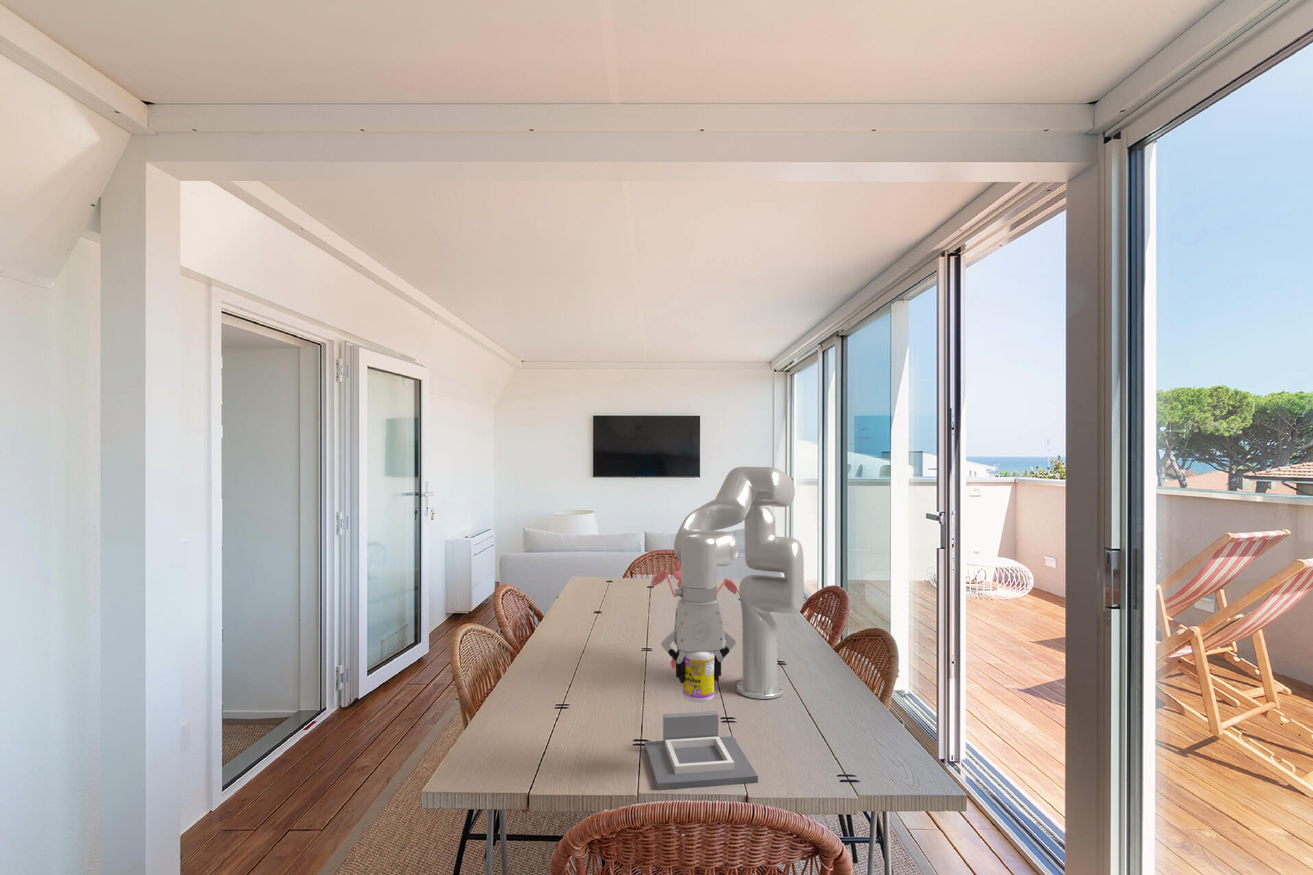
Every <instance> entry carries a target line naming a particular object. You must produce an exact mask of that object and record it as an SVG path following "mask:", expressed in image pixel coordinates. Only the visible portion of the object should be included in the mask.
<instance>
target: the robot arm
mask: <svg viewBox="0 0 1313 875" xmlns="http://www.w3.org/2000/svg"><path fill="white" fill-rule="evenodd" d="M795 488H796V487H795V483H794V481H793V480H792V478H791V476H790V475H788V474H787V473H786V472H784V471H782V470H781V469H778V468H775V467H774V466H737V467H735V468H732V469H731V470H730V471H729V472H728V473H727V474H726V477H725V478H724V481H723V483H722V484H721V487H720V489H719V491H718V493H717V495H715V496H716V497H715V499H712V500H710V501H709V502H707V503H705V504H703V505H702V506H700V507H698V508H696V509H695V510H692V512H690V513H689V514H688V515H686V517H685V518H684V519H683V521H682V523H681V525H680V527H679V529H678V530H677V534H675V538H674V543H673V551H674V552H673V553H674V555H675V557H676V558H677V559H678V561H680V562H681V585H680V588H679V587H677V588H675V589H673V591H674V595H675V596H677V597H680V598H679V599H678V600H677V604H676V609H675V618H674V627H673V628H674V629H673V631H672V632H670V633H669V635H667V636H666V637H665V638H664V639H663V640H662V641H661V643H660V645H661V647H662V648H663V649H664V650H665V651H666V653H667V654H668V655H669V656H670V658H671V659H672V658H673V659H674V660H675V661H676V668H675V677H676V678H678V680H679V682H680V683H681V684H683V683H684V682H685V664H684V663H683V659H684V656H685V654H686V652H697V651H714V653H715V661H714V682H719V681H720V676H722V662H723V661H724V659H725V657H726V656H727V655H728V654H729V653H730V651H731V650H732V648H734V646H735V645H736V644H737V642H736V640H735V639H734V638H733V637H732V636H731V635H729V633H727V632H726V631H725V624H724V614H723V607H722V602H721V600H719V599H718V598H717V595H718V593H717V590H718V585H717V579H718V578H717V576H718V575H717V574H718V573H717V572H718V571H717V568H718V567H726V566H728V565H729V566H730V565H731V564H733V563H734V562H735V560H736V559H737V558H738V554H739V551H740V550H739V549H740V548H739V542H738V539H737V538H736V536H735V535H734V534H732V533H730V532H727V531H721V530H723V529H727V528H731V527H734V526H737V525H738V524H741V523H742V522H743V521H744V560H745V564H746V566H747V567H748V568H749V569H752V570H756V571H762V572H772V573H773V572H774V573H783V574H784V576H774V575H765V574H750V575H747V576H745V577H743V578H742V579H741V581H740V583H739V585H738V586H739V587H738V588H739V589H738V595H739V601H740V607H741V617H742V680H741V681H739V682H738V683H737V684H736V691H737V693H738V694H740V695H741V696H745V697H747V698H750V699H751V698H752V699H757V700H758V699H759V700H771V699H776V698H779V697H781V696H783V694H784V687H783V686H782V685H781V684H780V683H778V626H777V623H776V621H775V619H774V617H773V616H772V614H771V613H779V614H791V615H792V614H793V615H795V614H799V613H800V612H801V611H802V609H803V606H804V601H805V600H804V598H805V584H804V583H805V582H804V580H805V576H804V573H805V572H804V571H805V570H804V568H805V567H804V565H805V563H804V562H805V561H804V550H803V546H802V544H801V543H800V541H799V540H798V539H796V538H794V537H788V536H787V537H786V536H777V532H776V517H775V515H774V513H773V511H772V510H771V508H772V507H775V508H776V507H777V508H787V507H789V506H790V505H791V504H792V503H793V501H794V499H795V495H796V494H795V493H796V490H795ZM770 507H771V508H770ZM674 595H673V596H674ZM725 641H726V643H725ZM673 642H674V645H676V651H675V650H674V648H673V647H671V645H672V643H673ZM677 648H678V649H677Z"/></svg>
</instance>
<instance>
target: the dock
mask: <svg viewBox="0 0 1313 875" xmlns="http://www.w3.org/2000/svg"><path fill="white" fill-rule="evenodd" d="M662 716H663V717H662V720H663V721H662V724H663V725H662V740H655V741H645V742H644V749H645V753H646V755H647V759H648V763H649V766H650V769H651V773H652V775H653V779H654V783H655V785H656V786H655V787H656V789H657V791H660V790H661V791H662V790H673V789H674V790H675V789H676V790H677V789H685V788H686V789H687V788H700V787H713V786H724V784H725V786H726V784H728V785H737V784H736V783H741V784H751V783H750V782H754V783H759V775H758V773H757V772H756V770H755V769H754V768H753V766H752V765H751V762H750V761H749V759H748V758H747V756H746V754H745V753H744V752H743V750H742V749H741V747H740V745H739V744H738V743H737V741H736V739H735V737H734V736H733V735H732V736H730V735H729V736H721V737H720V736H719V714H718V712H717V711H716V710H715V711H713V710H712V711H711V710H710V711H695V712H678V713H663V715H662ZM746 782H747V783H746Z"/></svg>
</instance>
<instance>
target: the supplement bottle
mask: <svg viewBox="0 0 1313 875" xmlns="http://www.w3.org/2000/svg"><path fill="white" fill-rule="evenodd" d="M714 661H715V653H714V651H697V652H686V654H685V656H684V659H683V663H684V664H685V682H684V683H682V696H683V698H684V700H687V701H689V702H694V703H707V702H710V701H711V700H713V698H714V697H715V680H714Z"/></svg>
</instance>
